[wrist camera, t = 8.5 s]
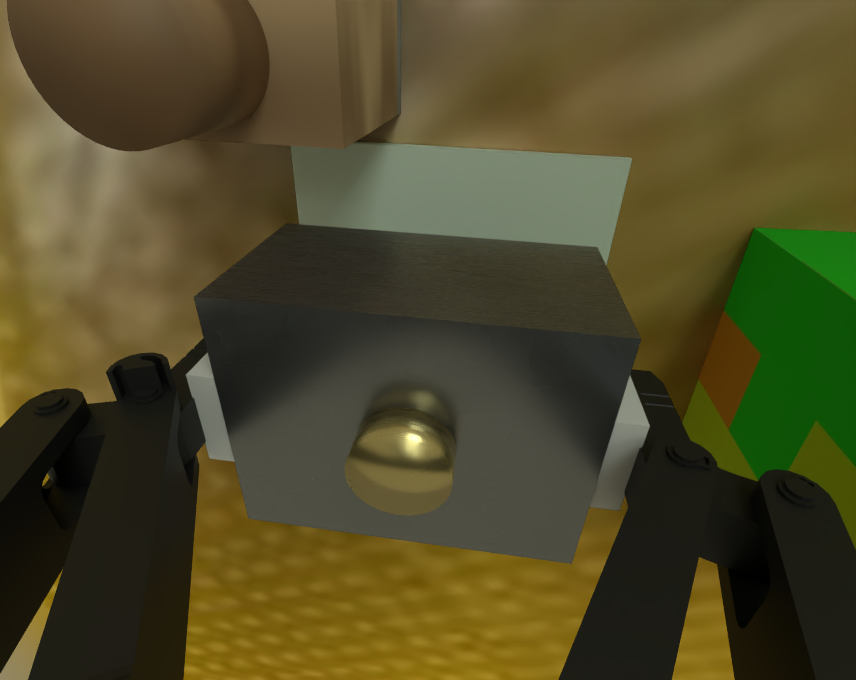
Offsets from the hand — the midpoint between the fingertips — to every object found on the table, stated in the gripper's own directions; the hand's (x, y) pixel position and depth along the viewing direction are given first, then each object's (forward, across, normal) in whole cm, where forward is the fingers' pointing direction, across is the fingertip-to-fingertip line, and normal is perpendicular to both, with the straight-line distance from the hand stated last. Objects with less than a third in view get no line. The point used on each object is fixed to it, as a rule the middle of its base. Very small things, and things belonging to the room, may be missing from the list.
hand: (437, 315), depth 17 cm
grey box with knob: (-2, 0, 0) cm, 2 cm away
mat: (+3, 0, 0) cm, 3 cm away
